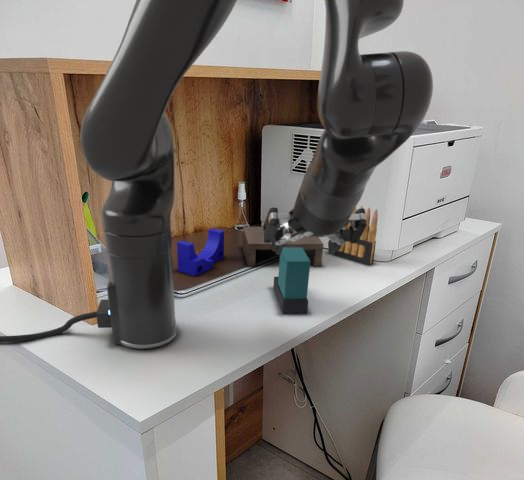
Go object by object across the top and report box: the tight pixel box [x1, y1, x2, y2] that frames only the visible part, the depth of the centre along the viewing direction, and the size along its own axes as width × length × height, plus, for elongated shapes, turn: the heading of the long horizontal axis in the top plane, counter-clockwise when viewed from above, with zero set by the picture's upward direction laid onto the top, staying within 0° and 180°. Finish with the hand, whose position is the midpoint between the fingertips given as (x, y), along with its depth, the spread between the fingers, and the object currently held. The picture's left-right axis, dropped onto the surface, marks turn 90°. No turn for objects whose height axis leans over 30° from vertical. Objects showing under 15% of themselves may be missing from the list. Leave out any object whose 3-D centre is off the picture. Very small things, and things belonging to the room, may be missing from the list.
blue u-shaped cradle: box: [176, 228, 225, 277], centre depth 103 cm, size 12×4×6 cm, turn 149°
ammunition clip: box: [332, 205, 379, 266], centre depth 109 cm, size 11×2×12 cm, turn 51°
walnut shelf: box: [241, 226, 324, 268], centre depth 110 cm, size 16×12×5 cm
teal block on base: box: [272, 247, 311, 315], centre depth 89 cm, size 4×11×10 cm, turn 7°
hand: (304, 249), depth 78 cm, fingers open, 8 cm apart
